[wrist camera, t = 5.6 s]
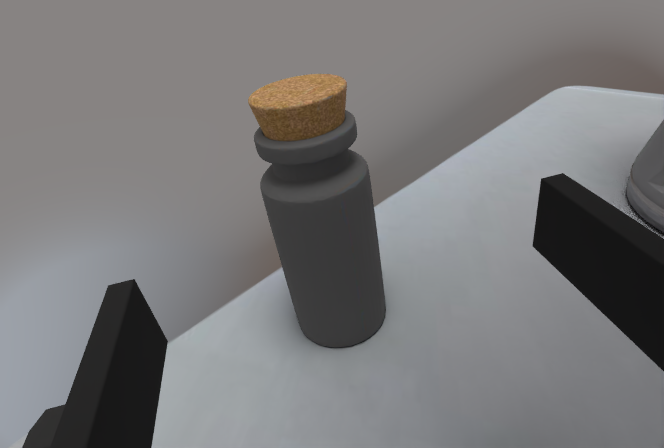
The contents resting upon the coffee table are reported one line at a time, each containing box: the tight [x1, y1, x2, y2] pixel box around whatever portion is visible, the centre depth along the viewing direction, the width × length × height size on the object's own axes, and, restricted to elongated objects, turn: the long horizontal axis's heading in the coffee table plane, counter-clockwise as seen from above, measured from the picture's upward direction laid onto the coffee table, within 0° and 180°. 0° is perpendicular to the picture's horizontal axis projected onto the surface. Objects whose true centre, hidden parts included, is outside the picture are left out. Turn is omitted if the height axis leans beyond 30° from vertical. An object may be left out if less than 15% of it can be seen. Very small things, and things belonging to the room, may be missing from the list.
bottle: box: [248, 74, 386, 347], centre depth 24 cm, size 6×6×15 cm
